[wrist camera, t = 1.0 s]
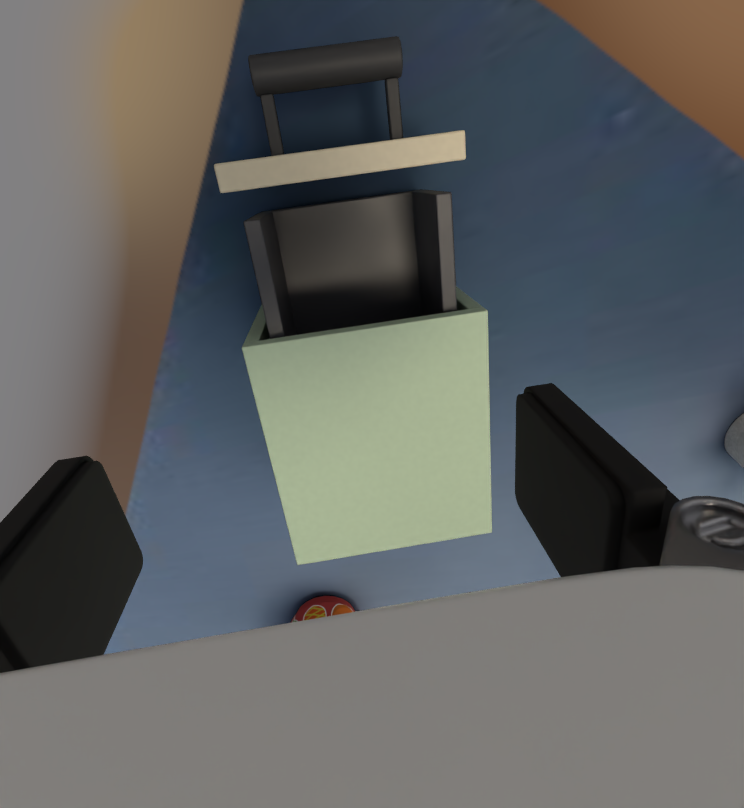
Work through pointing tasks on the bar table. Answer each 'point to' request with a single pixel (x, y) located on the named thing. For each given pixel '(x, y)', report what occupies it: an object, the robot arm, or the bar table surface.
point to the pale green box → (377, 430)
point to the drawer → (346, 207)
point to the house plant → (736, 440)
